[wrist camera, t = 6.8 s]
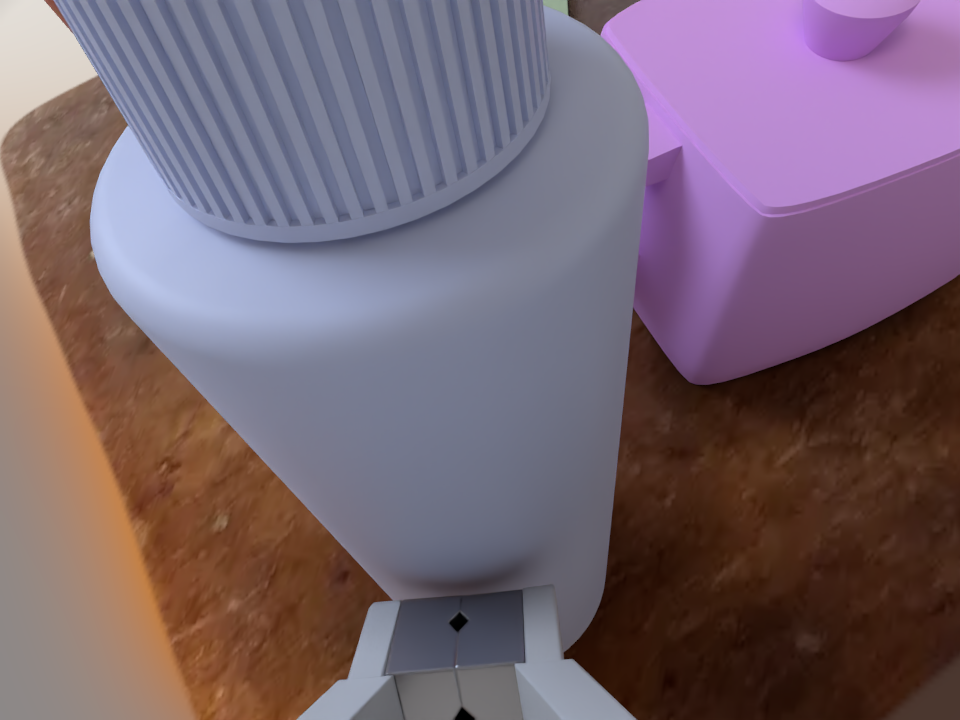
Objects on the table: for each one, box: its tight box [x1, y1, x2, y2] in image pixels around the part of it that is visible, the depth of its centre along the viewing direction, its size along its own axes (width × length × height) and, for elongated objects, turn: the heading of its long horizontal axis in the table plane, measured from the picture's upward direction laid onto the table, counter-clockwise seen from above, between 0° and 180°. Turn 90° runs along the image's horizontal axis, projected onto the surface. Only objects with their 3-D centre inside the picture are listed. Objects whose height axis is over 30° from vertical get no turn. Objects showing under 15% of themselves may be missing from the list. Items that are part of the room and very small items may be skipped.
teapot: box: [601, 0, 960, 385], centre depth 19 cm, size 18×10×10 cm, turn 113°
